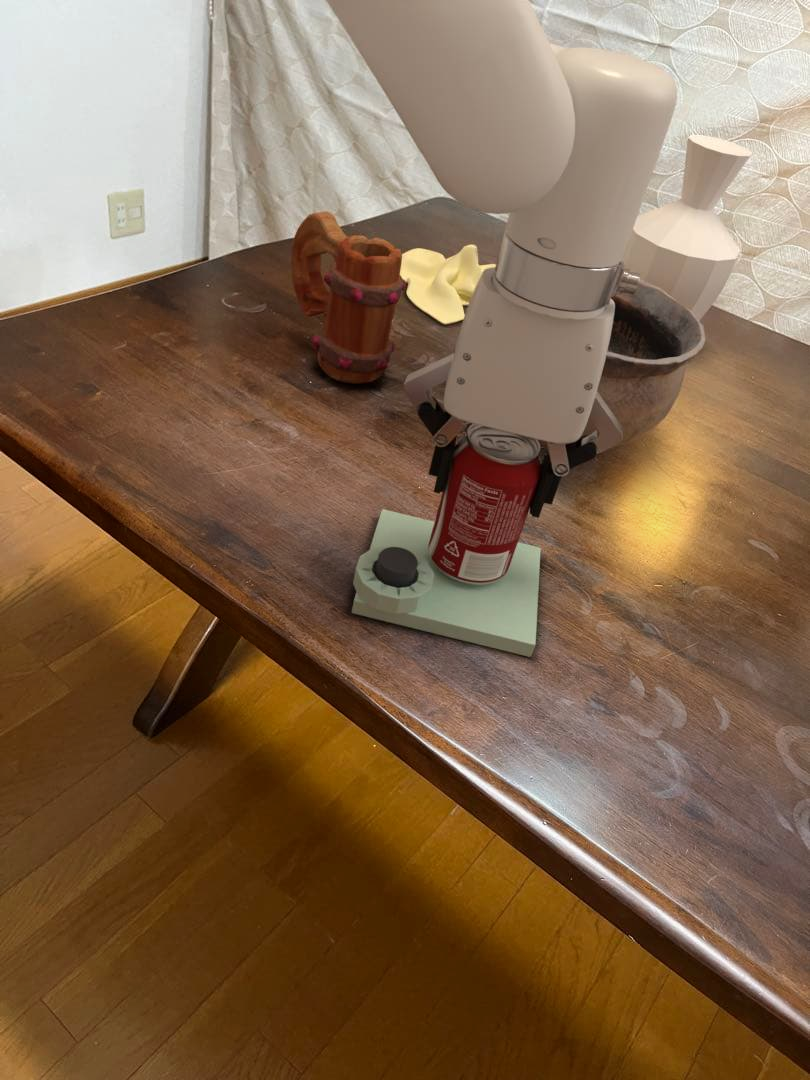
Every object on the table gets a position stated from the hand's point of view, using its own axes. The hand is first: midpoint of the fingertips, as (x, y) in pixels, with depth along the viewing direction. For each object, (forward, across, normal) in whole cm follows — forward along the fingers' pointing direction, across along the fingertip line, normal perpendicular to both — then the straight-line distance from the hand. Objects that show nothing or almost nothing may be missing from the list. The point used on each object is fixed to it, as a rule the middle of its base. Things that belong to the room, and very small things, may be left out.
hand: (487, 493), depth 66 cm
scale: (+9, +1, +2) cm, 9 cm away
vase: (+9, -19, -58) cm, 61 cm away
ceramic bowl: (+9, -7, -28) cm, 30 cm away
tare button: (+6, +5, +5) cm, 9 cm away
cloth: (+9, +7, -58) cm, 60 cm away
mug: (+9, +18, -30) cm, 36 cm away
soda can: (+7, 0, 0) cm, 7 cm away
